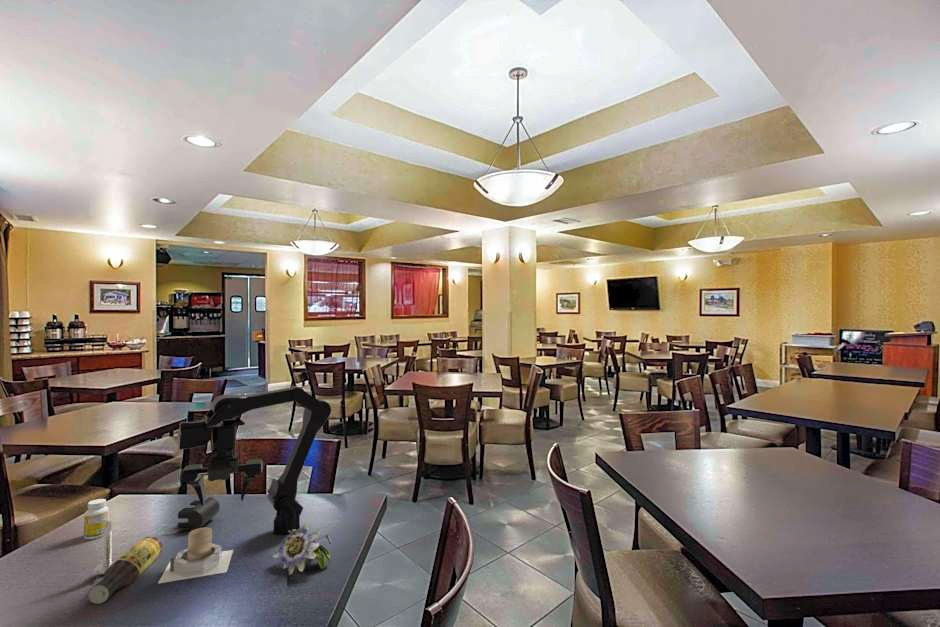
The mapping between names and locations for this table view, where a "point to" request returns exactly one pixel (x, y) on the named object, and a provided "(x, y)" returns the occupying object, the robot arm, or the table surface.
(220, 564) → the base plate
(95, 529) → the supplement bottle
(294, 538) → the passion flower
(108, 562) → the graduated cylinder
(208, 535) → the maple peg
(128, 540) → the table surface
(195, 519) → the end cap
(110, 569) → the sauce bottle
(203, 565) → the white faceted ring
